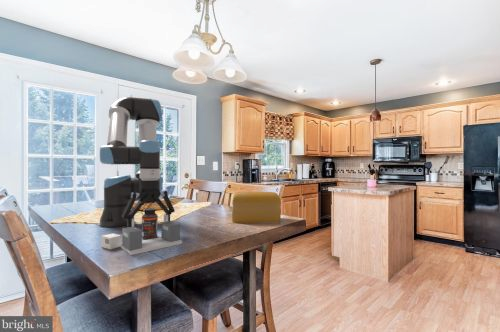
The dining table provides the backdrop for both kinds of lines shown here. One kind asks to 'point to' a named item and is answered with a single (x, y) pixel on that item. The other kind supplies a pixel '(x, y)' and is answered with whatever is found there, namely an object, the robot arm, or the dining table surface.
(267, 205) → the bread
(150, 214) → the supplement bottle
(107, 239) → the block
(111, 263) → the dining table surface
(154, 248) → the board
